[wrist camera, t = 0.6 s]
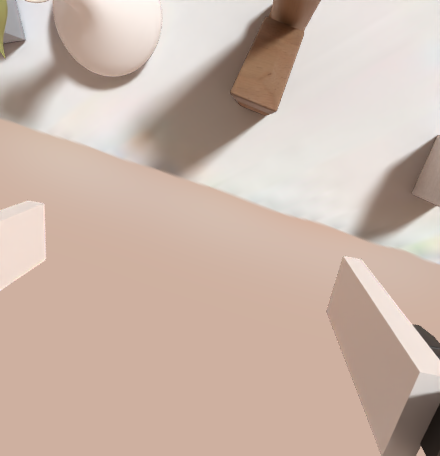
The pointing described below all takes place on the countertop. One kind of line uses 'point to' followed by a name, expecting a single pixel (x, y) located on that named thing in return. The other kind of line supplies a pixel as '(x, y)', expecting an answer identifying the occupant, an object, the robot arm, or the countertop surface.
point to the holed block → (13, 24)
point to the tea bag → (430, 177)
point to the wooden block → (272, 56)
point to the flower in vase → (104, 32)
